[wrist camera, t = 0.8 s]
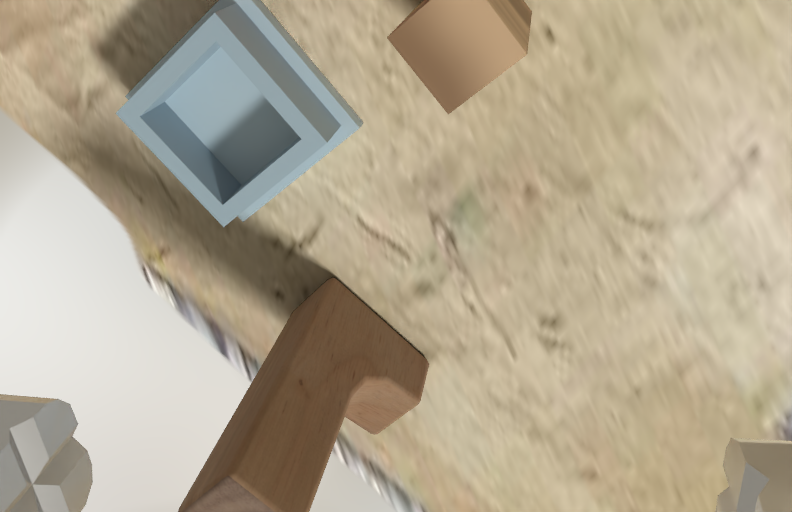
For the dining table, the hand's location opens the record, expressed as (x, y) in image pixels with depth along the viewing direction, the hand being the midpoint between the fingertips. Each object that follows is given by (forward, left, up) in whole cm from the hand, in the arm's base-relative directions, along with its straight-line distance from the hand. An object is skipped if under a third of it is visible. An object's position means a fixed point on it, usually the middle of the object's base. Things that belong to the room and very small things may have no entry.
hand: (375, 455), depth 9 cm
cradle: (+15, -5, -33) cm, 36 cm away
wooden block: (+20, +11, -33) cm, 40 cm away
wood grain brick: (+1, -1, -33) cm, 33 cm away
